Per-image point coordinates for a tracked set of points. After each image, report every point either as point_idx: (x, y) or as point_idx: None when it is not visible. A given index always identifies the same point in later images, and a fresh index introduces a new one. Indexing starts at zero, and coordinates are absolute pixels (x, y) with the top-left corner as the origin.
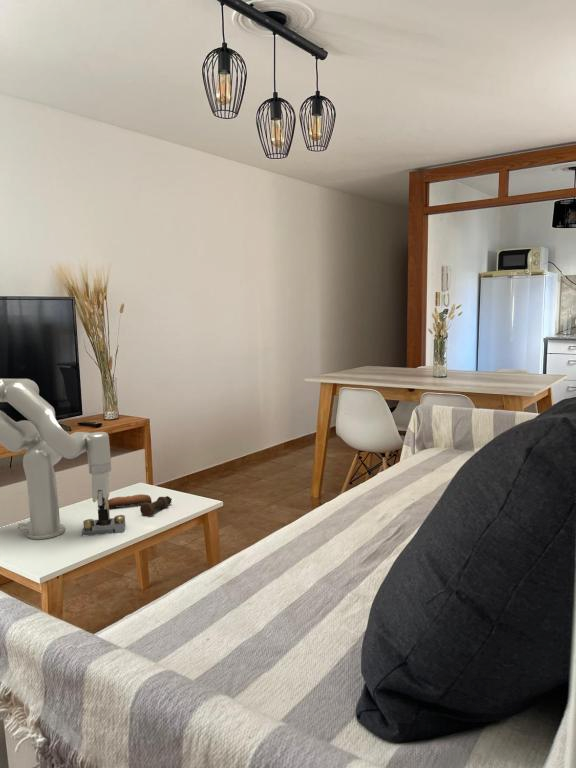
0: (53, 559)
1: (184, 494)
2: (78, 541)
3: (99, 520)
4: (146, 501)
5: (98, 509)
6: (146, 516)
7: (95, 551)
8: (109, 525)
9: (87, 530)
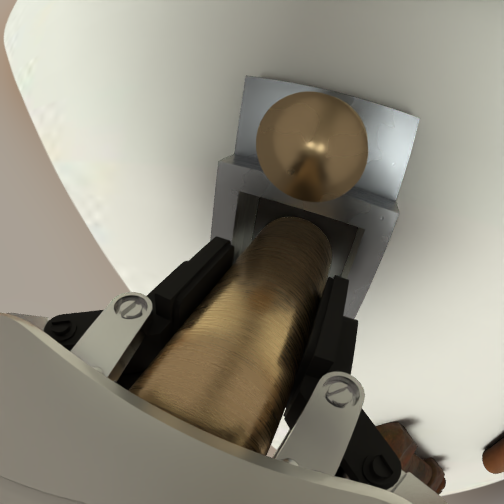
0: (49, 15)
1: (465, 490)
2: (173, 63)
3: (215, 241)
4: (493, 453)
5: (119, 300)
6: (378, 426)
7: (61, 158)
8: None
9: (257, 119)
